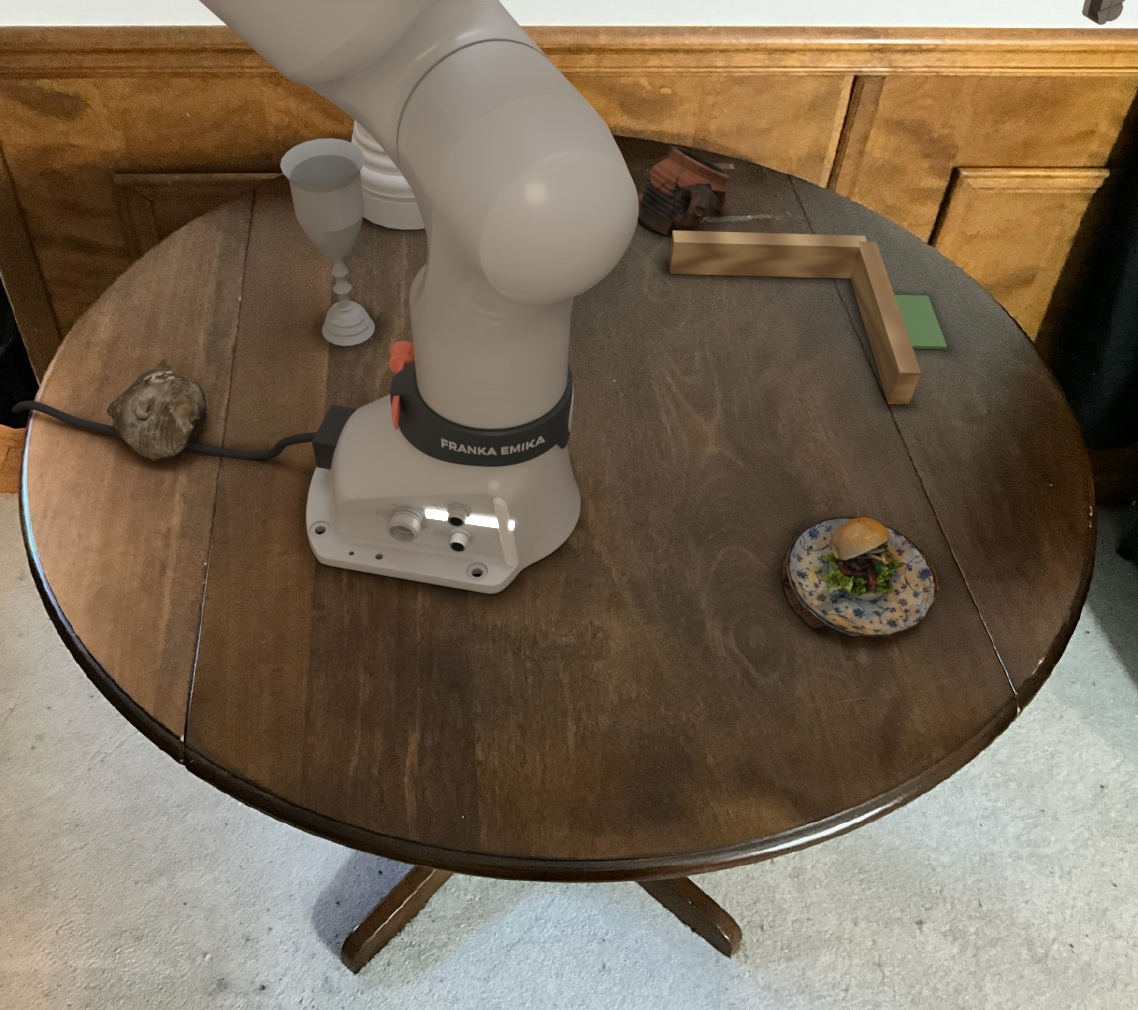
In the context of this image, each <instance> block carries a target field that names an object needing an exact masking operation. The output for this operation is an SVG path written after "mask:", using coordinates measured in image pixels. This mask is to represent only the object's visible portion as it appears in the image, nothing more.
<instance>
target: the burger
mask: <svg viewBox="0 0 1138 1010" xmlns="http://www.w3.org/2000/svg"><path fill="white" fill-rule="evenodd" d="M859 502H860V501H859V500H857V516H833V517H829V518H825V519H820V520H816V521H814V522H813V523H812V524H810V525H807V526H806V527H805V528H803V529H802V530H801V531H800V532H799V533H798V534H797V536H795V537H794V540H793V541H792V543H791V544H790V546H789V549H788V552H787V554H786V555H785V558H784V560H783V564H782V569H781V582H782V585H783V591H784V593H785V596H786V598H787V600H788V602H789V604H790V605H791V607H792V609H793V610H794V612H795V613H796V614H797V615H799V616H800V617H801V618H803V620H804V622H805V623H806V624H807V625H808V626H809V627H811V628H812V629H815V630H816V629H817V628H821V627H822V626H826V627H827V628H828V627H829V628H830V629H833V630H835V631H836V632H839V633H843V634H845V636H846V635H847V636H851V637H853V636H854V637H855V636H868V637H875V638H876V637H878V638H880V637H887V636H892V635H898V634H900V633H903V632H904V631H906V630H910V629H911V628H915V627H916V626H919V625H920V624H921V623H922V622H923V621H924V619H925V618H926V616H927V615H928V613H929V611H930V610H931V608H932V606H933V605H934V604H935V602H936V600H937V593H938V590H940V583H939V578H938V574H937V571H936V568H935V567H934V566H933V565H932V564H931V563H930V562H929V561H928V559H927V558H926V555H925V552H924V551H923V550H922V549H920V548H919V547H918V545H917V543H916V542H915V541H913V540H912V539H911V538H910V537H908V536H906V535H905V534H904V533H902V532H900V531H898V530H897V529H894V528H893V527H891V526H889V525H886V524H884V523H881V522H880V521H878V520H876V519H873V518H870V517H865V516H864V517H863V516H861V517H860V506H859Z"/></svg>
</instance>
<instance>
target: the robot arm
mask: <svg viewBox="0 0 1138 1010" xmlns="http://www.w3.org/2000/svg"><path fill="white" fill-rule="evenodd" d="M198 1H199V2H200V3H201V4H202V5H203V6H204V7H205V8H207V9H208V11H210V12H211V13H213V15H214V16H216V18H218V19H219V20H220V21H221V22H222V23H223V24H225V25H226V26H227V27H228V28H229V29H230V30H231V31H232V32H234V34H235V35H237V36H238V37H239V38H240V39H241V40H242V41H243V42H244V43H246V44H247V45H248V46H249V47H250V48H251V49H252V50H254V51H255V53H257V54H258V55H259V56H260V57H261V58H263V59H264V60H265V62H267V64H269V65H270V66H271V67H273V69H275V70H276V71H277V72H278V73H279V74H280V75H281V76H282V77H283V78H284V79H285V78H286V79H287V80H288V81H291V82H293V83H295V84H298V85H304V86H306V87H307V88H309V89H310V90H312V91H314V92H315V93H317V94H318V95H320V96H322V97H323V98H325V99H326V100H327V101H328V102H330V103H331V104H333V105H335V106H336V107H337V108H339V109H340V110H341V111H342V112H344V113H345V114H346V115H347V116H349V117H350V118H352V120H354V121H357V122H358V123H359V124H360V125H361V126H362V127H363V128H364V129H365V130H366V131H367V132H368V133H369V134H370V135H371V136H372V137H373V138H374V139H375V140H376V141H377V142H378V144H379V145H380V146H381V147H382V148H383V150H384V151H385V152H386V153H387V155H388V156H389V157H390V159H391V160H392V161H393V163H394V164H395V165H396V167H397V168H398V169H399V171H400V172H401V174H402V175H403V176H404V178H405V180H406V181H407V183H408V184H409V185H410V187H411V190H412V192H413V194H414V197H415V199H416V202H417V205H418V207H419V210H420V213H421V216H422V219H423V222H424V226H425V228H424V231H425V235H426V242H427V243H426V244H427V245H426V247H427V251H426V261H425V264H424V265H423V266H421V268H420V269H419V271H418V272H417V273H416V275H415V276H414V278H413V281H412V282H411V285H410V288H409V294H408V305H409V316H410V325H411V327H410V328H411V336H412V342H410V341H408V340H397V341H395V342H394V343H393V344H392V345H391V347H390V358H389V360H388V367H389V369H390V370H391V371H392V372H393V373H394V375H393V376H392V378H391V381H390V387H389V394H386V395H385V396H383V397H380V398H378V399H375V400H374V401H371V402H369V403H367V404H364V405H362V406H360V407H359V408H357V409H355V408H353V407H347V406H342V405H337V404H331V405H330V407H329V409H328V411H327V412H326V414H325V416H324V418H323V420H322V421H321V423H320V425H319V427H318V429H317V430H316V431H313V432H303V433H297V434H292V435H287V436H286V437H284V438H281V439H280V440H278V441H277V442H276V443H275V445H274V446H273V447H271V448H270V449H264V450H238V449H230V448H226V447H225V448H224V447H219V446H215V445H214V446H213V445H209V444H205V443H200V442H196V441H194V442H193V443H191V445H190V446H188V447H187V448H185V449H184V450H187V451H191V452H195V453H200V454H205V455H210V456H213V457H214V456H215V457H222V458H229V459H237V460H248V461H250V460H251V461H265V460H271V459H274V458H276V457H278V456H279V455H280V454H281V453H282V452H283V451H284V450H285V449H286V448H287V447H290V446H293V445H297V444H305V443H311V445H312V449H313V453H314V459H315V463H316V467H315V469H314V472H313V474H312V478H311V480H310V484H309V488H308V493H307V498H306V499H307V500H306V507H305V525H306V536H307V540H308V544H309V546H310V549H311V552H312V553H313V555H314V557H315V558H316V560H317V561H318V562H319V563H320V564H322V565H326V566H329V567H333V568H334V567H335V568H339V569H344V570H345V569H346V570H351V571H357V572H363V573H368V574H374V575H380V576H384V577H385V576H386V577H392V578H397V579H402V580H408V581H413V582H419V583H425V584H430V585H437V586H442V587H447V588H454V589H459V590H466V591H471V592H476V593H482V594H489V595H492V594H498V593H500V592H502V591H503V590H505V589H506V588H508V586H510V584H511V583H512V582H513V581H514V580H515V579H516V577H517V576H518V575H519V574H520V573H521V571H523V570H524V569H526V568H528V567H529V566H530V565H532V564H534V563H537V562H539V561H540V560H542V559H545V558H546V557H547V556H549V555H551V554H552V553H554V552H555V551H557V549H559V548H560V547H561V546H562V545H563V544H564V543H565V542H566V541H567V540H568V539H569V537H570V536H571V535H572V533H573V531H574V530H575V528H576V526H577V524H578V520H579V519H580V514H581V506H582V501H581V500H582V498H581V492H580V488H579V486H578V483H577V480H576V478H575V476H574V473H573V468H572V464H571V459H570V449H569V440H570V436H571V432H572V429H573V420H574V402H575V387H574V383H573V373H572V369H571V366H570V364H569V354H570V337H571V323H572V322H571V321H572V313H573V307H574V300H575V298H576V297H578V296H579V295H582V294H583V293H586V292H588V291H589V290H591V289H592V288H593V287H595V286H596V285H598V284H599V283H601V282H602V281H603V280H604V279H605V278H606V277H607V276H608V275H609V274H610V273H611V272H612V271H613V270H614V269H615V267H616V266H617V265H618V264H619V263H620V261H621V259H622V258H623V256H624V255H625V253H626V252H627V250H628V248H629V246H630V244H631V242H632V240H633V238H634V235H635V233H636V229H637V224H638V221H639V218H638V212H639V202H638V196H639V194H638V191H637V187H636V184H635V182H634V180H633V178H632V177H633V176H632V175H631V172H630V170H629V168H628V165H627V163H626V161H625V159H624V156H623V154H622V152H621V150H620V148H619V146H618V144H617V142H616V140H615V138H614V135H613V134H612V132H611V130H610V128H609V125H608V124H607V122H606V121H605V120H604V119H603V118H602V117H601V115H600V114H599V112H598V111H596V110H595V108H594V107H593V106H592V105H591V104H590V103H589V102H588V101H587V99H586V98H585V97H584V96H583V95H582V94H581V93H580V92H579V91H578V90H577V88H576V87H575V86H574V85H573V84H572V83H571V82H570V81H569V79H567V77H566V76H565V75H564V74H563V73H562V72H561V71H560V70H559V69H558V67H557V66H556V65H555V64H554V62H553V61H552V60H551V59H550V58H549V57H548V56H547V55H546V53H545V52H544V51H543V50H542V49H541V48H540V47H539V46H538V45H537V44H536V42H535V41H534V40H533V39H532V38H531V37H530V35H529V34H528V33H527V32H526V30H524V28H523V27H521V25H520V24H519V23H518V22H517V20H515V18H514V17H513V16H512V15H511V13H510V12H509V11H508V9H506V7H505V6H504V5H503V3H502V2H501V1H500V0H198ZM1125 1H1126V0H1084V3H1083V7H1082V11H1081V14H1082V16H1084V17H1085V18H1087V19H1088V20H1090V21H1092V22H1094V23H1095V24H1097V25H1099V26H1103V25H1106V24H1107V22H1113V21H1116V20H1117V19H1118V18H1119V17H1120V16H1121V15H1122V12H1123V10H1124V4H1123V3H1124V2H1125ZM26 410H32V411H37V412H40V413H42V414H45V415H48V416H50V417H52V418H54V419H57V420H58V421H61V422H63V423H66V424H68V425H72V426H73V427H77V428H81V429H85V430H88V431H93V432H97V433H101V434H104V435H109V436H114V437H118V438H121V437H120V436H119V435H118V433H117V432H116V431H115V429H114V425H109V424H104V423H100V422H96V421H92V420H88V419H85V418H80V417H77V416H75V415H71V414H70V413H67V412H64V411H62V410H60V409H58V408H55V407H53V406H50V405H48V404H45V403H43V402H40V401H36V400H23V401H19V402H17V403H16V404H15V405H14V406H13V407H12V408H11V411H12V412H13V413H15V414H16V413H17V414H19V413H22V412H24V411H26ZM319 533H320V534H319ZM474 575H480V576H474Z"/></svg>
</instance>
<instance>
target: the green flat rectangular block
mask: <svg viewBox="0 0 1138 1010" xmlns="http://www.w3.org/2000/svg"><path fill="white" fill-rule="evenodd" d="M894 295H895V297H896V300H897V303H898V306H899V309H900V312H901V315H902V318H903V321H904V324H905V327H906V330H907V333H908V335H909V338H910V341H911V344H912V347H913V350H947V348H948V344H947V342H946V340H945V337H944V334H943V332H942V329H941V327H940V324H939V320H938V318H937V315H936V313H935V311H934V308H933V305H932V302H931V300H930V297H929V295H917V294H894Z"/></svg>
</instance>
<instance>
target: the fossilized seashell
mask: <svg viewBox="0 0 1138 1010" xmlns="http://www.w3.org/2000/svg"><path fill="white" fill-rule="evenodd" d="M207 407H208V406H207V399H206V394H205V391H204V389H203V388H202V387H201V385H200V384H199V383H198V382H195V381H191V380H189V379H187V378H186V377H185V376H184V375H182V374H180V373H179V372H178V371H177V370H176V369H175V368H174V366H173V365H172V364H171V363H170V362H169V361H168V360H167V359H166V358H163V359H162V360H161V361H159V363H157V364H155V366H152V367H151V368H149V369H147V370H145V371H144V372H143V373H141V374H140V375H139V376H138V377H137V379H135V381H134V382H133V383H132V384H130V386H129V387H128V388H127V389H126V390H125V391H124V392H123V393H122V394H120V395H118V397H116V399H114V400H113V401H112V402H111V403H110V404H109V406H108V407H107V409H106V413H107V414H108V416H109V417H110V418H111V419H112V422H113V427H114V429H115V431H116V432H117V433H118V435H119V436H120V437H119V438H121V439H122V440H123V441H124V442H125V443H126V444H127V445H128V446H129V447H130V448H131V449H132V450H133V451H134V452H135V453H136V454H137V455H139V456H140V457H141V458H145V459H146V460H150V461H154V462H157V461H158V462H161V461H164V460H168V459H169V460H170V459H172V458H175V457H176V456H178V455H179V454H181V453H182V452H183V451H185V450H186V449H185V448H187V447H188V446H190V445H191V443H193V442H196V440H197V438H198V437H199V435H200V433H201V430H202V429H203V427H204V424H205V422H206V419H207V411H208V409H207Z"/></svg>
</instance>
